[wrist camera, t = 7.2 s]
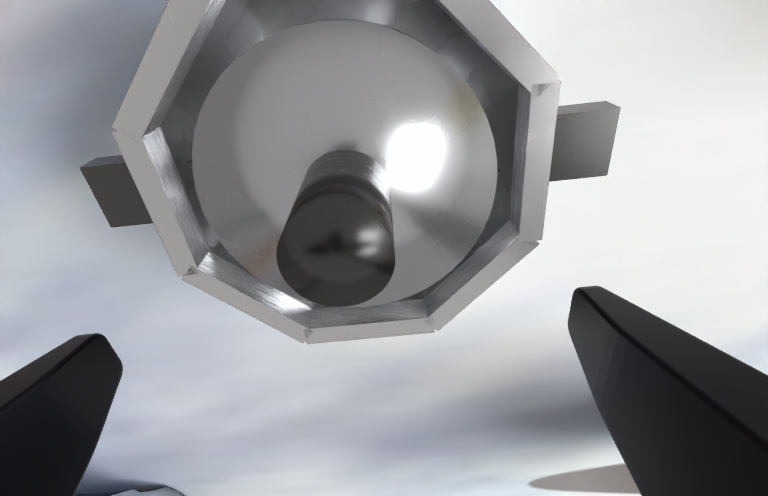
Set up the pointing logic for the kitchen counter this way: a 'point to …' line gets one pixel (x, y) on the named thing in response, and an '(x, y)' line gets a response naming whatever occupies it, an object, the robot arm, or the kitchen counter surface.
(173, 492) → the grey teddy bear
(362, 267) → the lid
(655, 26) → the kitchen counter surface
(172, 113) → the pot
